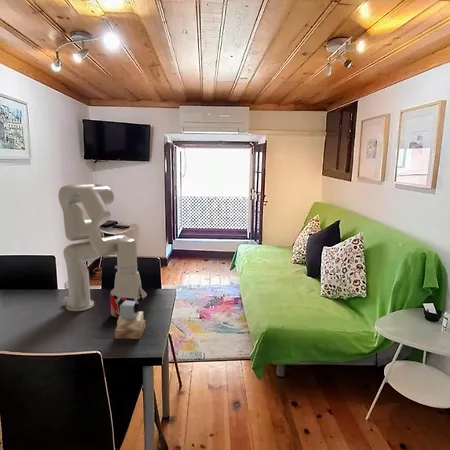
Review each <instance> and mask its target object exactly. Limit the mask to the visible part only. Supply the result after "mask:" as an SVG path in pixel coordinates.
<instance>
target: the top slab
mask: <svg viewBox="0 0 450 450" xmlns="http://www.w3.org/2000/svg"><path fill="white" fill-rule="evenodd" d="M143 320H145V319H144V311H142V310H141V311H139V314H138V315H137V316H136V317H135V318H134V319H122V318H120V316H119V317H118V319H117V321H116V328H117V330H118V331H126V330H141V326H142V323H143Z"/></svg>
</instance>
